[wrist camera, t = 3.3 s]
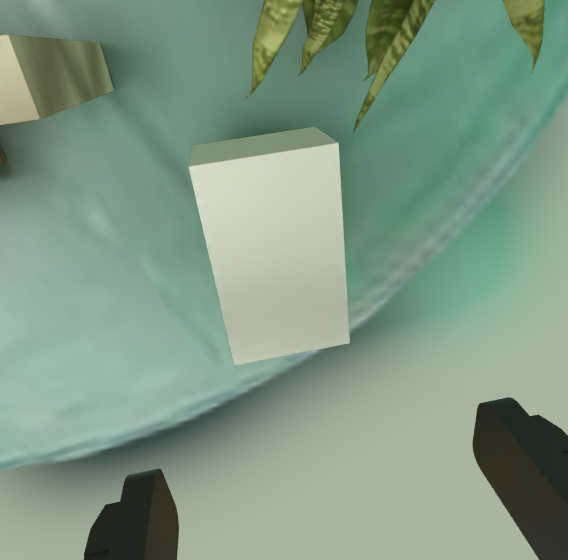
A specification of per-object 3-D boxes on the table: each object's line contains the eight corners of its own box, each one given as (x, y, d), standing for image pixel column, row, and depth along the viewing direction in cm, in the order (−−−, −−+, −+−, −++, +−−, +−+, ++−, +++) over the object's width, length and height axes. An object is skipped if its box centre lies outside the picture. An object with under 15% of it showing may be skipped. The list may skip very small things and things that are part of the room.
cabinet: (196, 125, 21) (188, 166, 14) (292, 110, 22) (338, 142, 14) (230, 282, 26) (238, 381, 18) (309, 268, 26) (350, 359, 19)
